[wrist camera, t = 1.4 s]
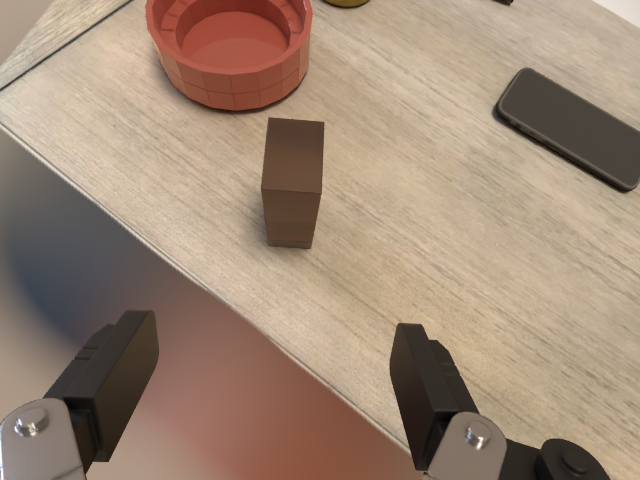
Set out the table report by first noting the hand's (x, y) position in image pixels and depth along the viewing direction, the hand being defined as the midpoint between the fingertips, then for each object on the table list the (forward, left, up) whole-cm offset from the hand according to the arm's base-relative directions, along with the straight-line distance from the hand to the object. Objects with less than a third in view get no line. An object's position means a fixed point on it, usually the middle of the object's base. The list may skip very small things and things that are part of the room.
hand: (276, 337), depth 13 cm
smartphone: (+35, +4, -17) cm, 39 cm away
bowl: (+10, +27, -16) cm, 34 cm away
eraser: (+6, +9, -17) cm, 20 cm away
